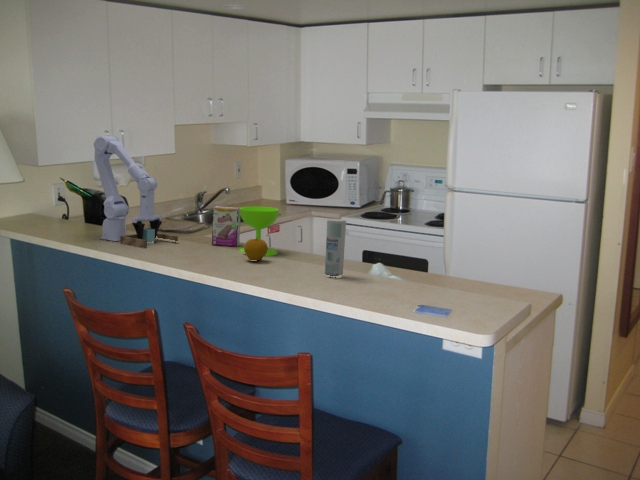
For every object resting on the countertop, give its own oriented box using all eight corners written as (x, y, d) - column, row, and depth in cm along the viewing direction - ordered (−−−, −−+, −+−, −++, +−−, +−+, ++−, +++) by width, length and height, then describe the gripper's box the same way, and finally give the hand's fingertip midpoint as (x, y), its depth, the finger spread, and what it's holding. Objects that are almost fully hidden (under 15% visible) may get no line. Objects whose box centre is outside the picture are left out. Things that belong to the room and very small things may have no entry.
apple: (263, 264, 247) (264, 240, 246) (240, 262, 249) (241, 238, 248) (270, 260, 256) (270, 237, 255) (247, 258, 258) (248, 235, 256)
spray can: (346, 276, 233) (349, 220, 230) (337, 279, 228) (340, 221, 225) (330, 273, 237) (333, 218, 234) (321, 276, 231) (323, 219, 228)
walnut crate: (120, 243, 277) (120, 236, 276) (153, 238, 291) (153, 232, 291) (145, 248, 268) (145, 240, 268) (177, 243, 283) (177, 236, 283)
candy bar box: (211, 245, 282) (212, 207, 280) (214, 243, 287) (215, 205, 285) (237, 247, 281) (238, 208, 279) (239, 245, 286) (241, 207, 284)
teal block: (139, 242, 280) (139, 228, 280) (146, 241, 284) (146, 227, 283) (147, 244, 278) (147, 230, 277) (154, 243, 281) (154, 229, 280)
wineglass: (231, 253, 266) (232, 209, 263) (247, 247, 281) (248, 205, 278) (269, 257, 261) (270, 212, 258) (282, 251, 276) (284, 208, 273)
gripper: (140, 208, 270) (140, 241, 272) (166, 206, 282) (166, 237, 284) (128, 206, 274) (128, 239, 276) (155, 204, 286) (155, 235, 288)
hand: (147, 238), depth 280 cm, fingers open, 7 cm apart
